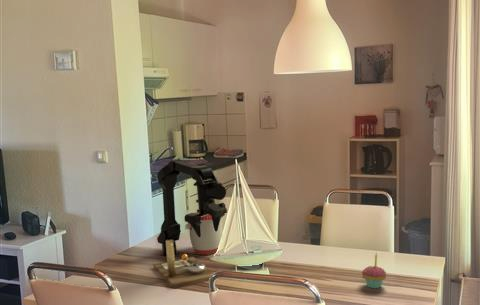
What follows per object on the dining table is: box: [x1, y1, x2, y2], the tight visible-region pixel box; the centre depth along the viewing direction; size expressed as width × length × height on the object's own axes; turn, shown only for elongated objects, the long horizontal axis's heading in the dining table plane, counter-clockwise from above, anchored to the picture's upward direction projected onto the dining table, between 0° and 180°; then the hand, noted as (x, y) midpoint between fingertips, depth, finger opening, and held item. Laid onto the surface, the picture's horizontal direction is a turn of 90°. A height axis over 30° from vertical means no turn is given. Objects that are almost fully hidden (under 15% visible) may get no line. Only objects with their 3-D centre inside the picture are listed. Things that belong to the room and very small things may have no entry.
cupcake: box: [361, 252, 387, 289], centre depth 174 cm, size 9×8×12 cm
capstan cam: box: [166, 240, 206, 277], centre depth 197 cm, size 19×15×14 cm
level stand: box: [153, 256, 214, 289], centre depth 197 cm, size 26×18×2 cm
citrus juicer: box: [184, 211, 223, 256], centre depth 222 cm, size 16×17×20 cm
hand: (207, 234), depth 199 cm, fingers open, 9 cm apart
